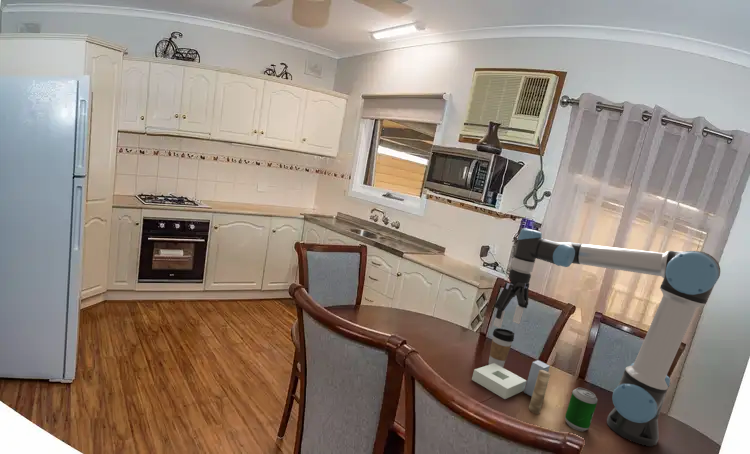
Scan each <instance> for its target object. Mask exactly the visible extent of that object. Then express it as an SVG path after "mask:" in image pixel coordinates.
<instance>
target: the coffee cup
mask: <svg viewBox="0 0 750 454" xmlns="http://www.w3.org/2000/svg"><path fill="white" fill-rule="evenodd" d="M492 335H493V336H492V340H491V345H490V351H489V359H488V365H489V364H492V363H495V364H497V365H499V366H501V367H502V368H504V366H505V363H506V361H507V358H508V354H509V353H510V350H511V346H512V343H513V342H514V340H515V332H513V331H511V329H510V330H509V329H506V328H502V327H501V328H498V327H497V328H494V329H493V332H492Z"/></svg>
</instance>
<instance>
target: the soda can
mask: <svg viewBox="0 0 750 454" xmlns="http://www.w3.org/2000/svg"><path fill="white" fill-rule="evenodd" d="M598 400H599V399H598V398H597V396H596V394H595V393H594V392H593V391H591V390H589V389H586V388H583V387H577V388H575V389H573V390H572V393H571V395H570V400H569V403H568V406H567V409H566V413H565V417H564V420H565V422H566V424H567V425H568V426H569V427H570V428H572V429H574V430H576V431H578V432H585V431H588V430H589V429H590V427H591V423H592V420H593V417H594V414H595V410H596V408H597V405H598Z"/></svg>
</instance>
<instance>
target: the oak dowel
mask: <svg viewBox="0 0 750 454" xmlns="http://www.w3.org/2000/svg"><path fill="white" fill-rule="evenodd" d="M550 376H551V373H550V371H548V372H547V371H544V370H539V373H538V377H537V380H536V384H535V387H534V391H533V395H532V397H531V399H530V402H529V406H528V410H529V411H530V412H531V413H533V414H536V415H539V414H540V412H541V410H542V409H541V408H542V405H543V401H544V399H545V395H546V391H547V388H548V385H549V381H550V378H551V377H550Z"/></svg>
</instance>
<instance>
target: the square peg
mask: <svg viewBox="0 0 750 454" xmlns="http://www.w3.org/2000/svg"><path fill="white" fill-rule="evenodd" d="M550 367H551V365H549V364H547V363H545V362H544V361H541V360H540V359H537V360H534V361H532V363H531V366H530V369H529V373H528V377H527V382H526V385H525V389H524V391H523V392H524V394H527V395H528V396H530V397H531V398H532V395H533V391H534V387H535V384H536V380H537V377H538V373H539V370H544V371H547V372H550V371H549V370H550Z"/></svg>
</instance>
